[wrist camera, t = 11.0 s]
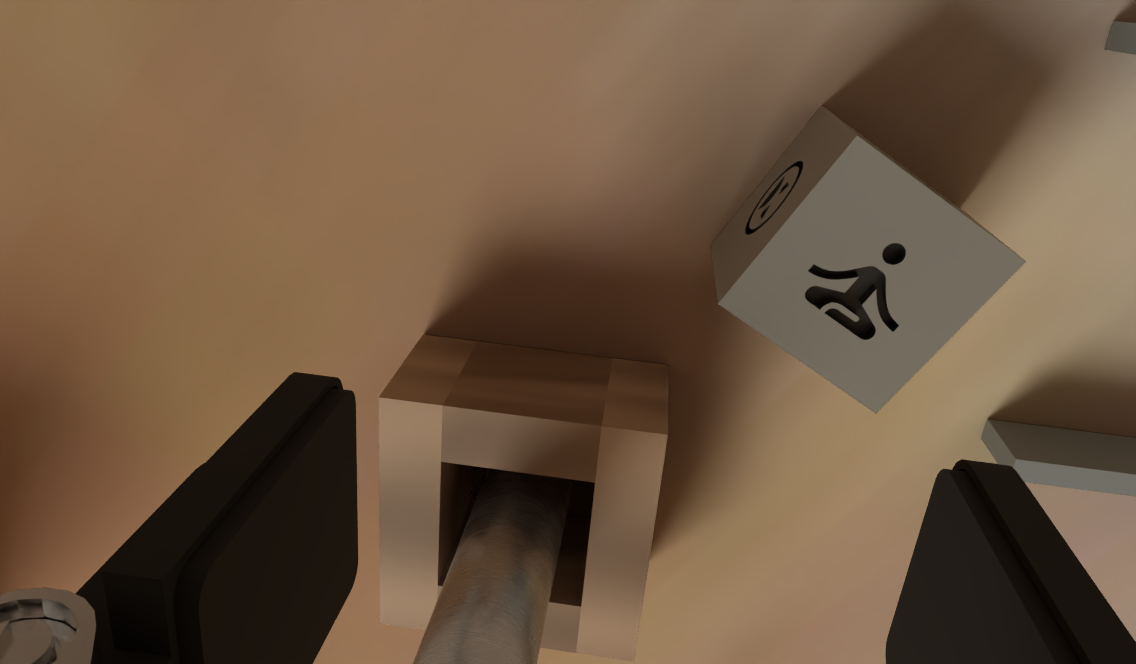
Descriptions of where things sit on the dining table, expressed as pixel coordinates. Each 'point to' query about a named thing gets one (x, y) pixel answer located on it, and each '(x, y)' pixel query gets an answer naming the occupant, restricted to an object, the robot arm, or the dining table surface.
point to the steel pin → (500, 574)
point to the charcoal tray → (1063, 450)
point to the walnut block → (528, 445)
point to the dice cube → (855, 262)
